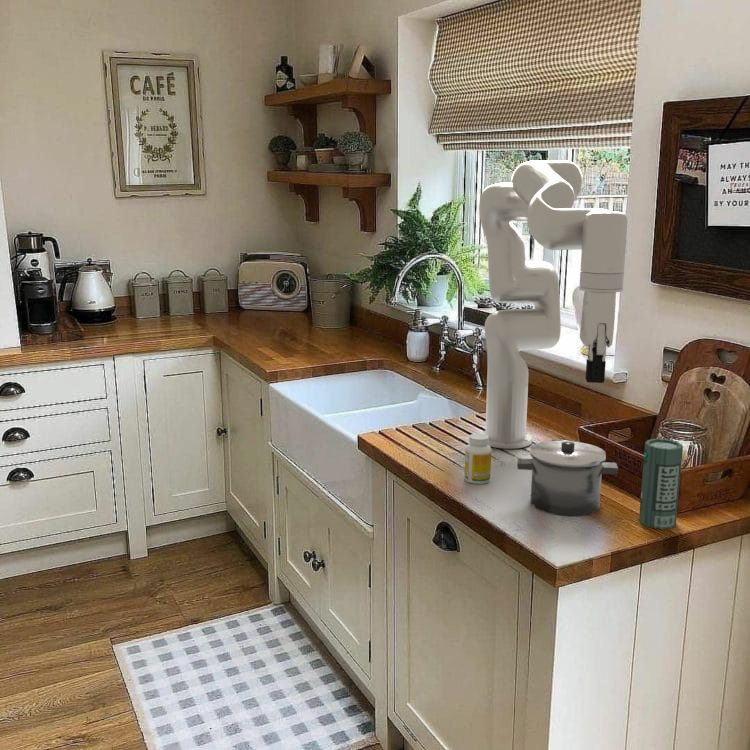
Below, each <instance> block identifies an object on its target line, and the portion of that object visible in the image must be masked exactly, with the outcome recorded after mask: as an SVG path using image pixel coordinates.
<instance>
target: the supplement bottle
mask: <svg viewBox="0 0 750 750" xmlns="http://www.w3.org/2000/svg"><path fill="white" fill-rule="evenodd" d="M480 433H481V432H480ZM480 433H479V432H478V433H471V434H469V436H468V437H469V439H468V442H469V443H468V444H467V445H466V446H465V453H464V456H465V457H464V480H465V481H466V482H467V483H469V484H474V485H484V484H488V483H489V482H490V480H491V473H492V448H491V446H489V445H487V444H488V443H489V436H488V435H486V434H480Z"/></svg>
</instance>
